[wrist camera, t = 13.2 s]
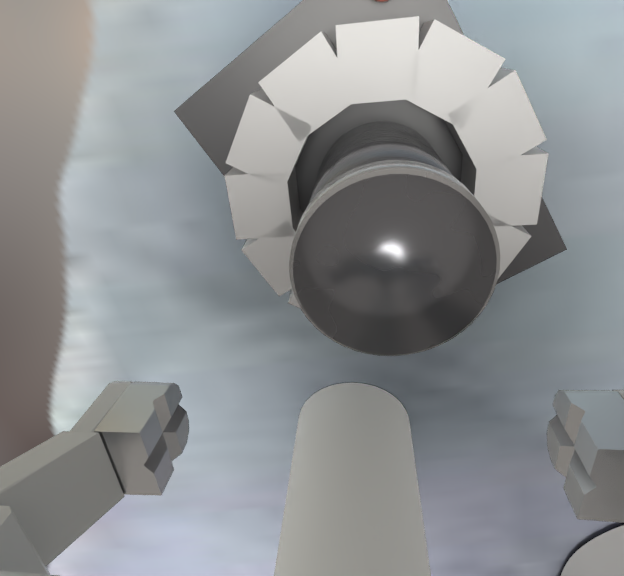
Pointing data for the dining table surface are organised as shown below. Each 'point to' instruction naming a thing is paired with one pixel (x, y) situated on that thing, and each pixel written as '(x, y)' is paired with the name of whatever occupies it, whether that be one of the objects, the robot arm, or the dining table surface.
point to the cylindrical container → (353, 489)
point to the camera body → (370, 108)
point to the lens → (391, 245)
